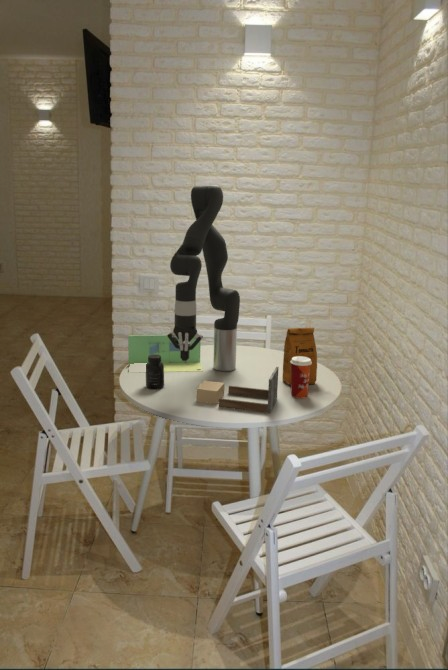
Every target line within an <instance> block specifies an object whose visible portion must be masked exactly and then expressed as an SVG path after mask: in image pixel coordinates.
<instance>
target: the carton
mask: <svg viewBox="0 0 448 670" xmlns="http://www.w3.org/2000/svg"><path fill="white" fill-rule="evenodd" d="M195 397H196V402H197V403H204V404H211V405H219V398H222V399H223V398H224V397H225V382H218V381H210V380H203V381H202V383H201V384H200V385H198V387H197V388H196V396H195Z"/></svg>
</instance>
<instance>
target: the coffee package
mask: <svg viewBox="0 0 448 670" xmlns="http://www.w3.org/2000/svg"><path fill="white" fill-rule="evenodd" d="M314 332H315V327H294V328H287V330H286V336H285V339H284V340H285V341H284V344H283V345H284V347H283V361H282V381H284V382H285V383H286V384H288V385H290V386H291V362H290V361H291V360H292V358H293V357H296V356H297V357H298V356H303V357H308V358H310V359H311V362H312V364H311V368H310V376H309V384H308V385H315V384H316V382H317V375H318V372H317V371H318V354H317V353H318V352H317V346H316V341H315V340H316V339H315V333H314Z"/></svg>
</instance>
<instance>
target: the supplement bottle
mask: <svg viewBox="0 0 448 670" xmlns="http://www.w3.org/2000/svg"><path fill="white" fill-rule="evenodd" d="M145 387H146V388H147V389H149V390H152V391H153V390H155V391H156V390H157V391H158V390H160V389H162V388H164V387H165V372H164V365H163V363H162V362H161V356H160V355H149V356H148V363H147V364H146V372H145Z"/></svg>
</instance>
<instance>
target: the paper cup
mask: <svg viewBox="0 0 448 670" xmlns="http://www.w3.org/2000/svg"><path fill="white" fill-rule="evenodd" d="M290 362H291V385H290V388H291V389H290V390H291V391H290V392H291V397H293V398H295V399H305V398H307V396H308V391H309V385H310V384H309V376H310V368H311V364H312V362H311V359H310V358H308V357H303V356H298V357H297V356H296V357H293V358H292V360H291V361H290Z"/></svg>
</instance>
